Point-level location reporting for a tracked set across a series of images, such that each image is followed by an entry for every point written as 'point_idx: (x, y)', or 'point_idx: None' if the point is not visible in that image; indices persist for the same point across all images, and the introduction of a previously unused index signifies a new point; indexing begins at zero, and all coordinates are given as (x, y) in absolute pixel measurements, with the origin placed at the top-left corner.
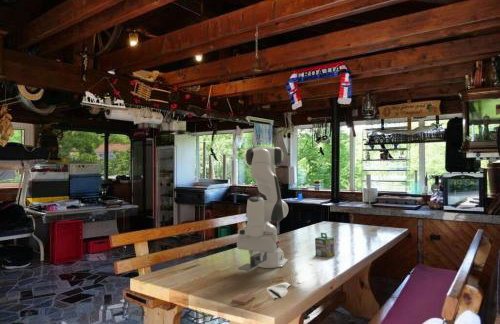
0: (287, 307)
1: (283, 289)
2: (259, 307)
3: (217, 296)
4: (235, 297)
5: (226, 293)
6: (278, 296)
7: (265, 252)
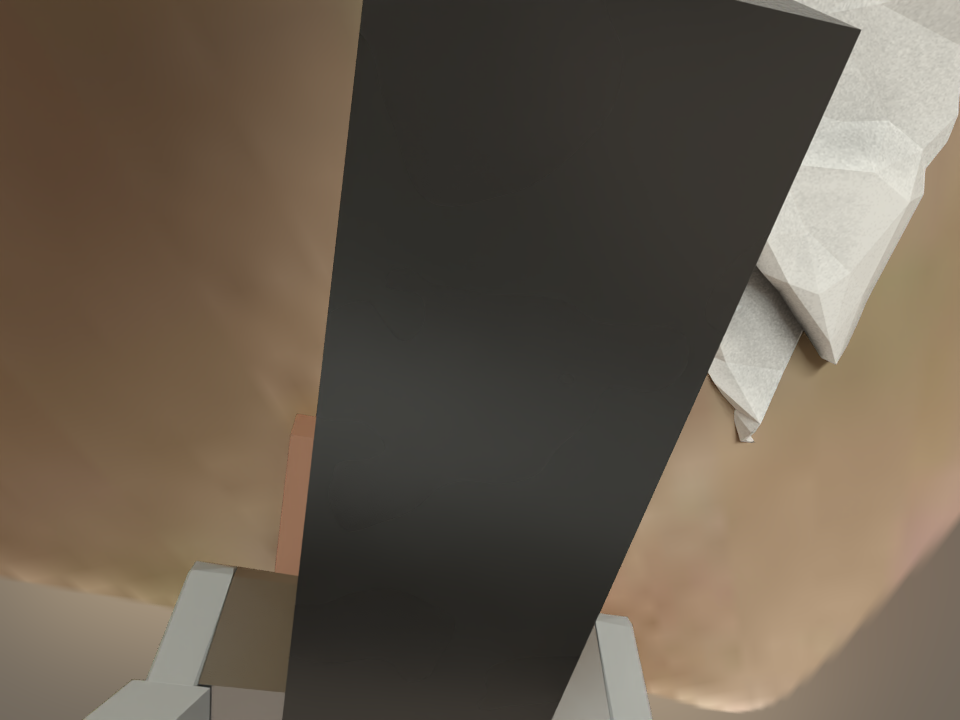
0: (895, 552)
1: (888, 22)
2: (608, 606)
3: (29, 490)
4: (286, 544)
5: (60, 388)
6: (796, 319)
7: (756, 242)
